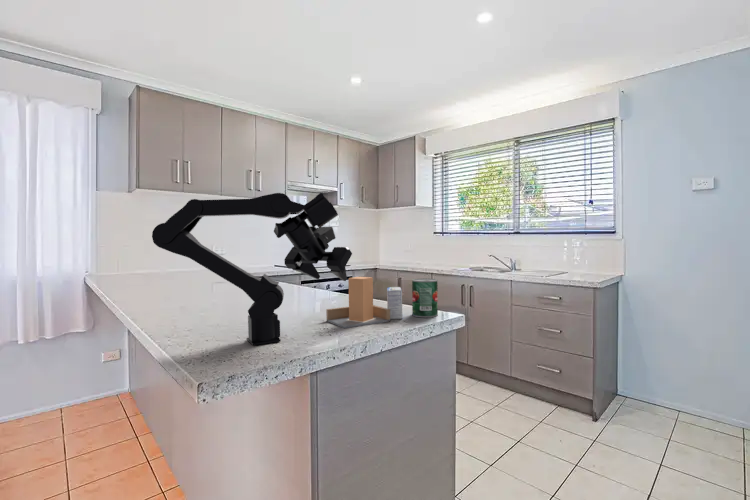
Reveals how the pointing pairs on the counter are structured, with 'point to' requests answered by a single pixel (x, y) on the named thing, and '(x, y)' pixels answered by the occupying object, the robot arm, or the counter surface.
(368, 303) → the terracotta block
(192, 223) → the robot arm
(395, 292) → the medicine box
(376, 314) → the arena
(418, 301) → the canned tomato
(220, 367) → the counter surface
